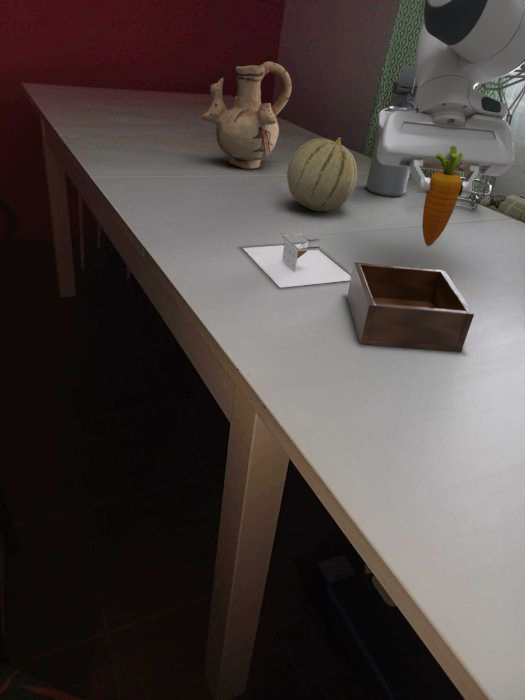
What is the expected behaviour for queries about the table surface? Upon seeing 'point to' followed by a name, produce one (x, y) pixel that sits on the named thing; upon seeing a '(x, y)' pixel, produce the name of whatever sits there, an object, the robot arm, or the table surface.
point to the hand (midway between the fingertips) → (444, 193)
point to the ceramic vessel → (248, 115)
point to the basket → (408, 308)
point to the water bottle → (380, 176)
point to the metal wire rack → (524, 69)
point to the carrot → (441, 197)
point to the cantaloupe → (322, 174)
